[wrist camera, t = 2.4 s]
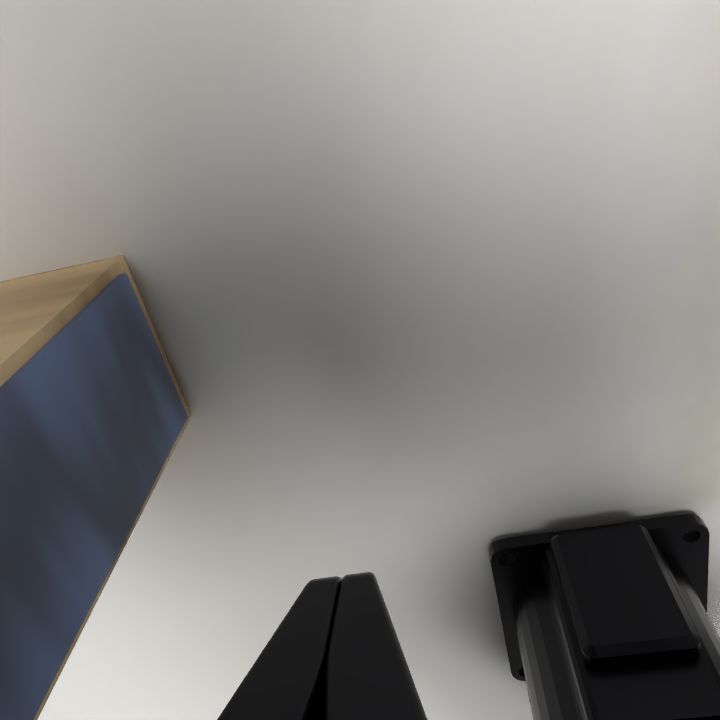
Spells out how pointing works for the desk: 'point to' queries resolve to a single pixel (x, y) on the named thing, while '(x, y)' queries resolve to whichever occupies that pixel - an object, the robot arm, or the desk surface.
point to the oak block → (72, 457)
